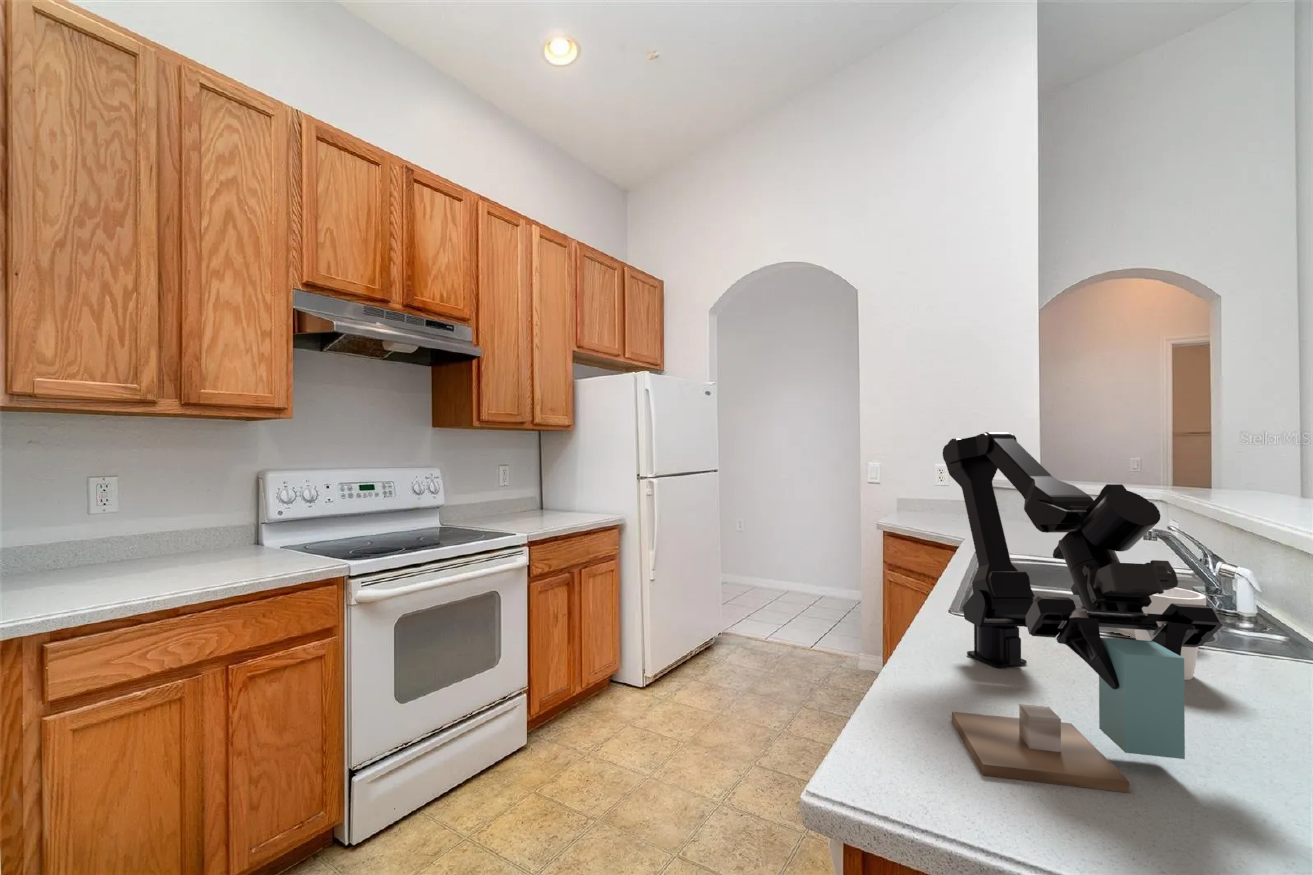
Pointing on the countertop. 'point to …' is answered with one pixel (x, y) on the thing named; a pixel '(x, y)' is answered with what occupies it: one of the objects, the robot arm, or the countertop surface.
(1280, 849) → the countertop surface
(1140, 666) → the teal rectangular prism
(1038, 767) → the post board
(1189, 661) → the foam cup
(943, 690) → the countertop surface
